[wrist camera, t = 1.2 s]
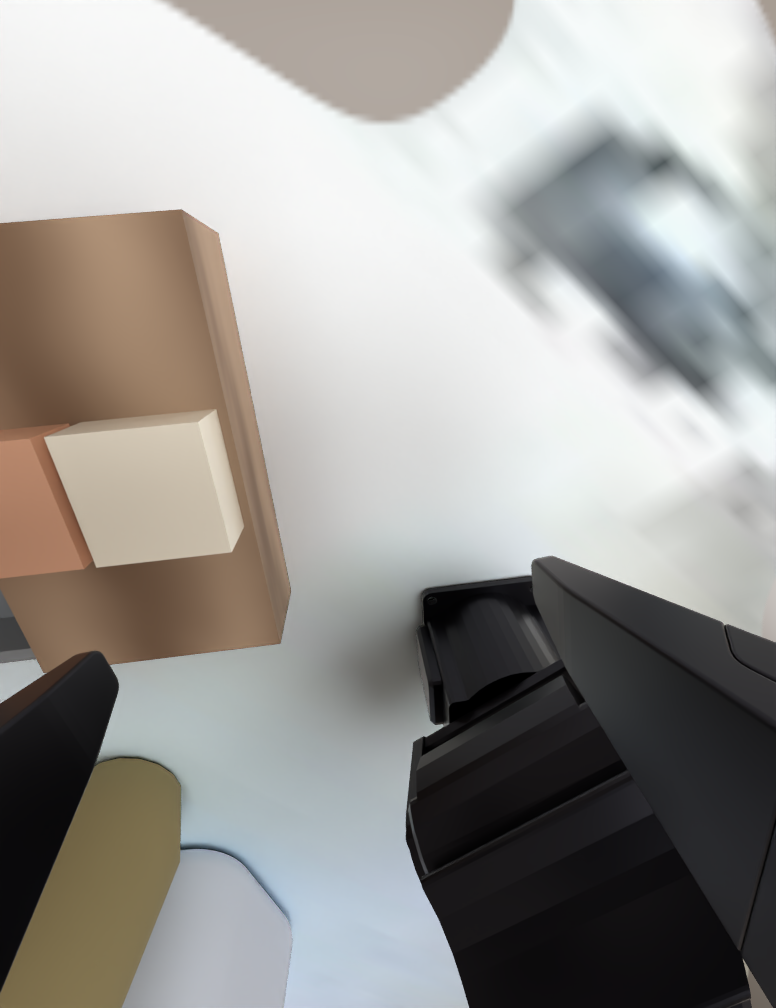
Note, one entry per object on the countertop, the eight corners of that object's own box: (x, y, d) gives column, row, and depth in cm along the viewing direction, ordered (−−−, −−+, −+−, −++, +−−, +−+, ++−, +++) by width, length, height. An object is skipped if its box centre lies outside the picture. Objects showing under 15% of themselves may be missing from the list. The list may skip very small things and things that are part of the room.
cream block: (216, 408, 15) (198, 422, 13) (244, 526, 17) (231, 552, 15) (81, 422, 15) (43, 437, 13) (124, 540, 17) (96, 567, 15)
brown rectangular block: (218, 233, 16) (181, 209, 13) (290, 590, 23) (280, 643, 19) (-61, 255, 16) (-182, 237, 12) (93, 614, 22) (43, 672, 19)
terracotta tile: (69, 423, 15) (29, 438, 13) (113, 541, 17) (84, 569, 15) (-71, 437, 15) (-131, 454, 13) (-11, 554, 16) (-56, 585, 15)
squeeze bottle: (43, 748, 26) (-510, 1537, 9) (185, 735, 26) (-91, 1455, 10) (85, 834, 29) (-265, 1533, 12) (212, 820, 29) (38, 1471, 13)
